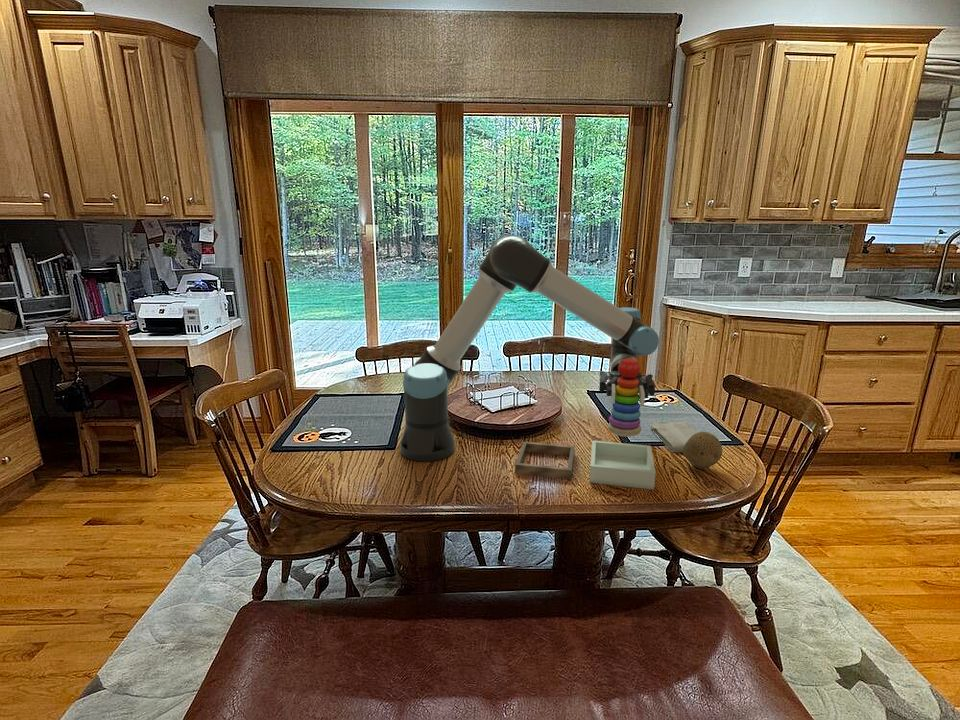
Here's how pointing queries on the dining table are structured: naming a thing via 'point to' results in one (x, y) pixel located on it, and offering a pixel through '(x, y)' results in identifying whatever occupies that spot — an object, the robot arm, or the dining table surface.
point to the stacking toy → (626, 401)
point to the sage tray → (622, 465)
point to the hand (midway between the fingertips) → (627, 398)
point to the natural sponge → (703, 450)
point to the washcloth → (673, 434)
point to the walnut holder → (540, 469)
